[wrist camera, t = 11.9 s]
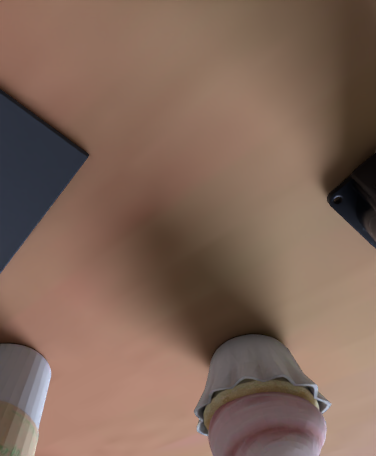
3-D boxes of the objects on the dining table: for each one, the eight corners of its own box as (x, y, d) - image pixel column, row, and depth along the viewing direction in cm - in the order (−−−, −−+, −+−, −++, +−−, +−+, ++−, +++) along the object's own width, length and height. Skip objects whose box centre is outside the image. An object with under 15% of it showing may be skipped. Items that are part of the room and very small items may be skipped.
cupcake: (333, 354, 28) (399, 503, 20) (248, 407, 32) (272, 552, 23) (253, 296, 25) (289, 445, 16) (168, 363, 28) (161, 513, 20)
